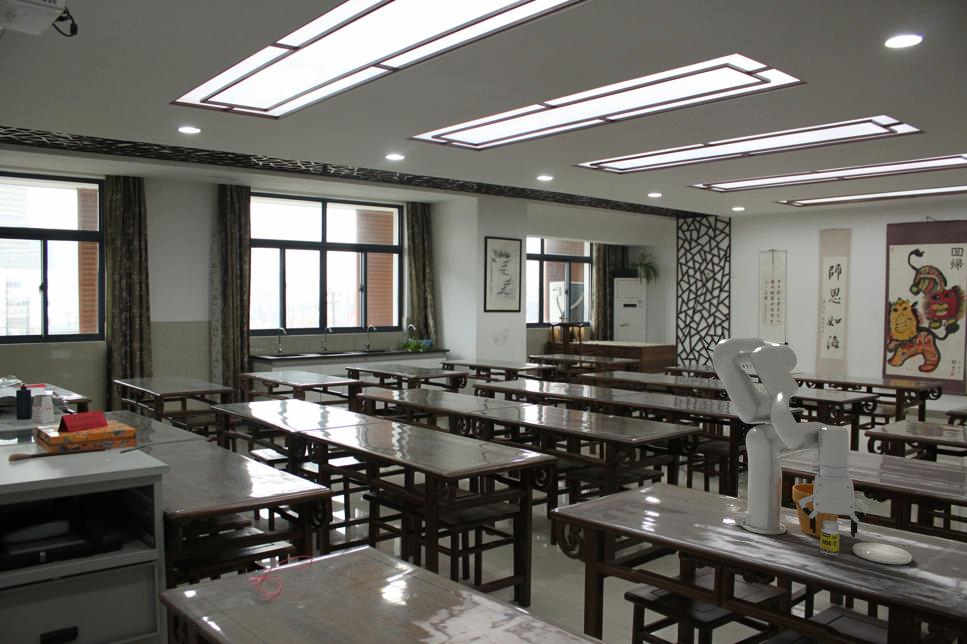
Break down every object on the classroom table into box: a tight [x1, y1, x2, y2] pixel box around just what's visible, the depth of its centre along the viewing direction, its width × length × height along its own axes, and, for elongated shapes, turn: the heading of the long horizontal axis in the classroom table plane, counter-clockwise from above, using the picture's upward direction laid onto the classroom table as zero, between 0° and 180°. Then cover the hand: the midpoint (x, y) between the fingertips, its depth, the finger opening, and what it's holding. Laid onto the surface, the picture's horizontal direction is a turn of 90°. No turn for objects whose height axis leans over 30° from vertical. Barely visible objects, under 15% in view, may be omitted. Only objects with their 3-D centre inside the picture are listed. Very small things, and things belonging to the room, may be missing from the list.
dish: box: [852, 542, 913, 565], centre depth 196 cm, size 14×14×2 cm
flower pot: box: [791, 483, 839, 537], centre depth 216 cm, size 14×14×13 cm
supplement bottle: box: [819, 520, 841, 556], centre depth 198 cm, size 5×5×8 cm
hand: (833, 533), depth 197 cm, fingers open, 9 cm apart
